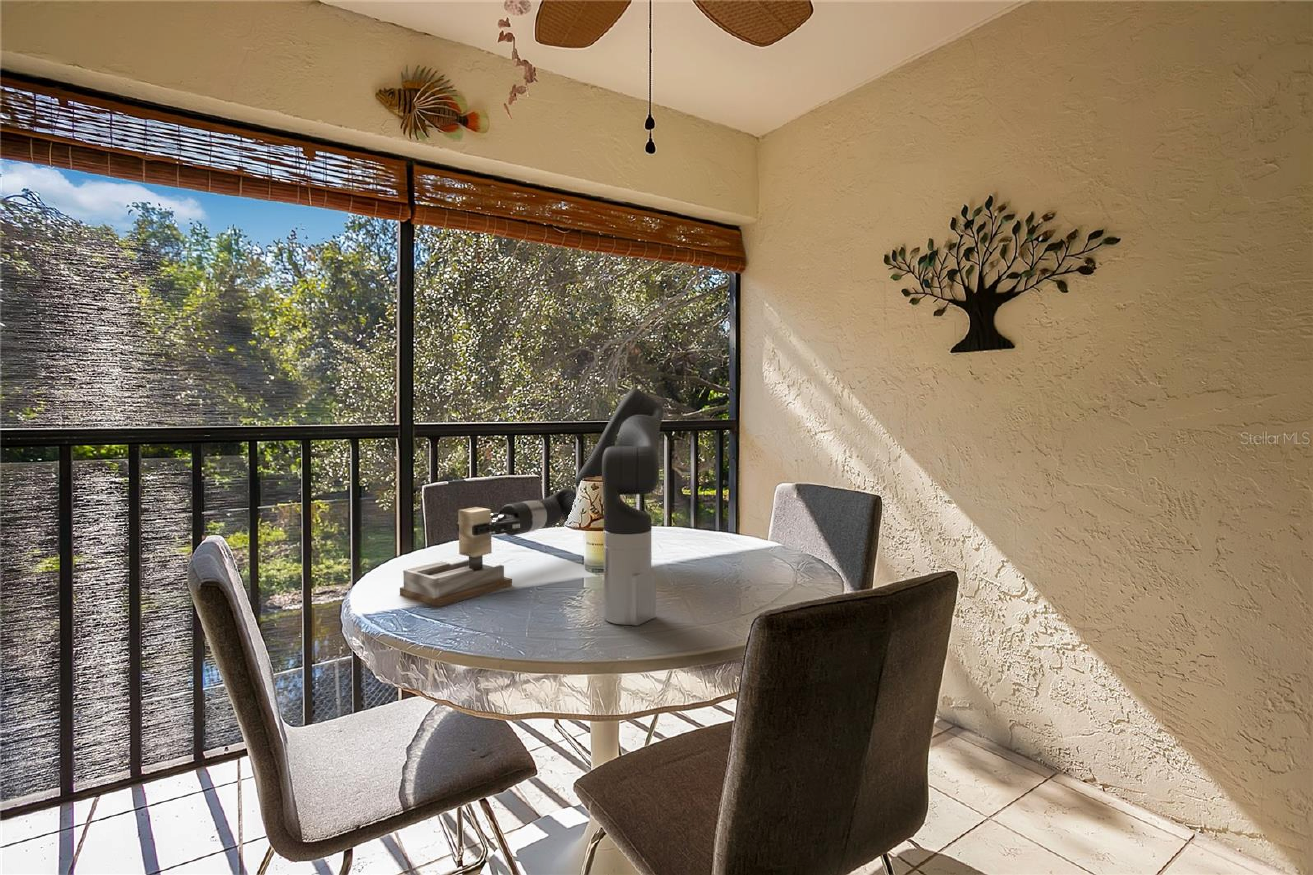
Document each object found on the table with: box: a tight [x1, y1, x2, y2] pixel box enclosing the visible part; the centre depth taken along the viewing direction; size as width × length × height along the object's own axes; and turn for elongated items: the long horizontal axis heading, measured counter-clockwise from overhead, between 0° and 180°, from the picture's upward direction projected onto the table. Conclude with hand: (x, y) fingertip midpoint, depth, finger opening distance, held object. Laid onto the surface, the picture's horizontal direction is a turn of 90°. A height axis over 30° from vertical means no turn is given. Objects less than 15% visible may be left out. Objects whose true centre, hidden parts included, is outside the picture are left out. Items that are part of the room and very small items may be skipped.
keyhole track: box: [399, 558, 513, 608], centre depth 146 cm, size 14×19×6 cm
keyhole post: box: [457, 506, 493, 572], centre depth 150 cm, size 7×7×15 cm
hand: (465, 529), depth 147 cm, fingers closed on keyhole post, 5 cm apart
